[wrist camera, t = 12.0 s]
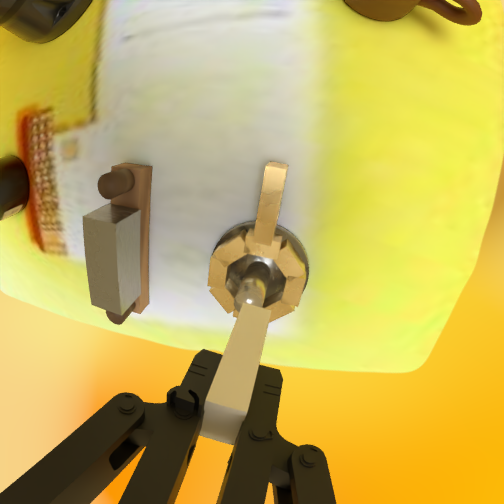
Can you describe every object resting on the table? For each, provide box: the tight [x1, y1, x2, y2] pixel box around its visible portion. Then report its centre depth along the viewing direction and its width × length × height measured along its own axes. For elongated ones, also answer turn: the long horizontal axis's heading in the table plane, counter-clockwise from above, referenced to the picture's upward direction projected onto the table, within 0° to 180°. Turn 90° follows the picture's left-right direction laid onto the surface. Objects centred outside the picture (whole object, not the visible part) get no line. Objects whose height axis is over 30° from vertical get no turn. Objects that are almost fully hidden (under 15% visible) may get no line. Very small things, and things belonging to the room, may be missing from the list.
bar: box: [83, 204, 141, 316], centre depth 28 cm, size 10×4×4 cm, turn 171°
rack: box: [98, 163, 152, 325], centre depth 30 cm, size 4×17×6 cm, turn 171°
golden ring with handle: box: [208, 161, 306, 322], centre depth 27 cm, size 9×16×3 cm, turn 171°
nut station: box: [212, 221, 309, 312], centre depth 28 cm, size 10×10×7 cm
